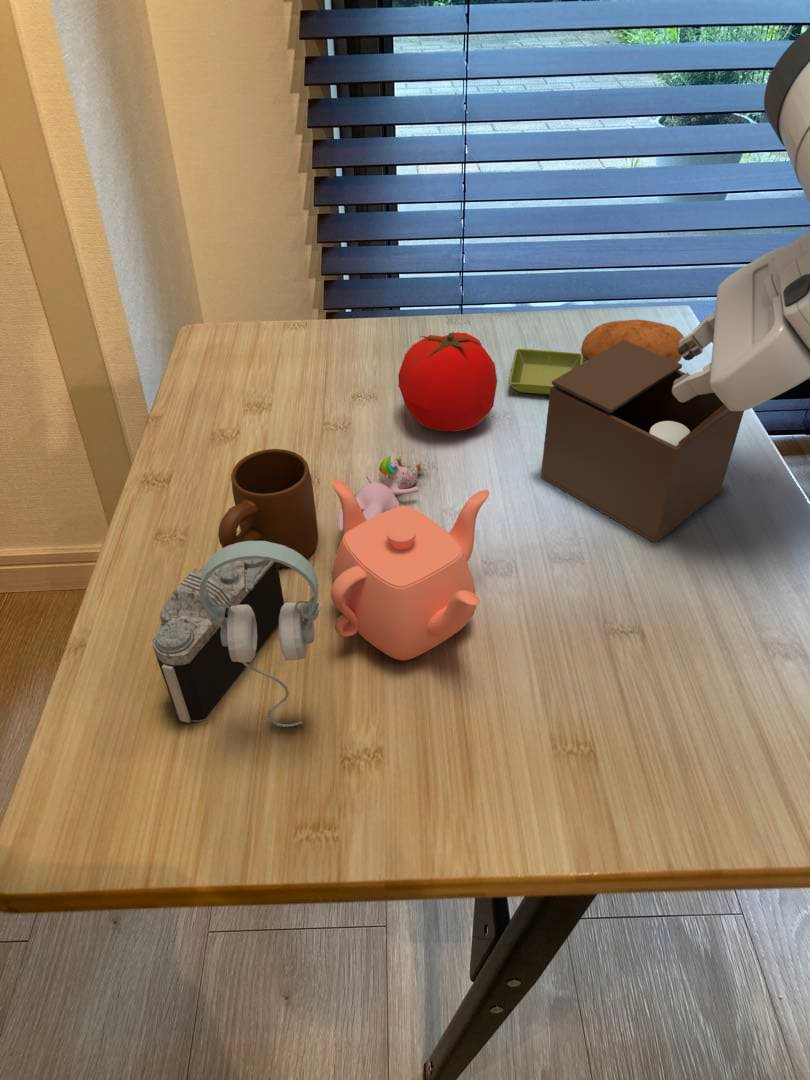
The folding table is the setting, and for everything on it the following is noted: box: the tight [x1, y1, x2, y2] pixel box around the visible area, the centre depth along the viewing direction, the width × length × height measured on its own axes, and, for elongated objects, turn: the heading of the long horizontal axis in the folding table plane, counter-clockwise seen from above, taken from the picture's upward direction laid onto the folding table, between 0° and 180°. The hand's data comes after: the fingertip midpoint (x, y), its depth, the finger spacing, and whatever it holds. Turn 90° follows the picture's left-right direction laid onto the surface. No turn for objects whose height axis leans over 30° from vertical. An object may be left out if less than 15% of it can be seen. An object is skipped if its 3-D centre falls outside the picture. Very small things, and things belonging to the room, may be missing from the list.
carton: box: [540, 340, 745, 544], centre depth 88 cm, size 15×12×12 cm
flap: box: [678, 405, 730, 446], centre depth 76 cm, size 7×12×1 cm
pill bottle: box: [649, 421, 690, 446], centre depth 86 cm, size 5×5×8 cm
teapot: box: [330, 478, 490, 661], centre depth 74 cm, size 14×14×11 cm
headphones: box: [199, 541, 322, 728], centre depth 63 cm, size 8×4×20 cm, turn 92°
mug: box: [217, 448, 319, 568], centre depth 81 cm, size 12×8×9 cm, turn 153°
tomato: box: [397, 331, 498, 433], centre depth 98 cm, size 12×12×11 cm
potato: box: [580, 319, 685, 363], centre depth 107 cm, size 7×13×7 cm, turn 61°
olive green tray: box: [508, 348, 584, 396], centre depth 107 cm, size 9×9×2 cm
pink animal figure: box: [336, 454, 424, 532], centre depth 88 cm, size 6×6×15 cm
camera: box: [151, 559, 285, 723], centre depth 72 cm, size 15×7×10 cm, turn 155°
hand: (678, 372), depth 80 cm, fingers open, 6 cm apart
